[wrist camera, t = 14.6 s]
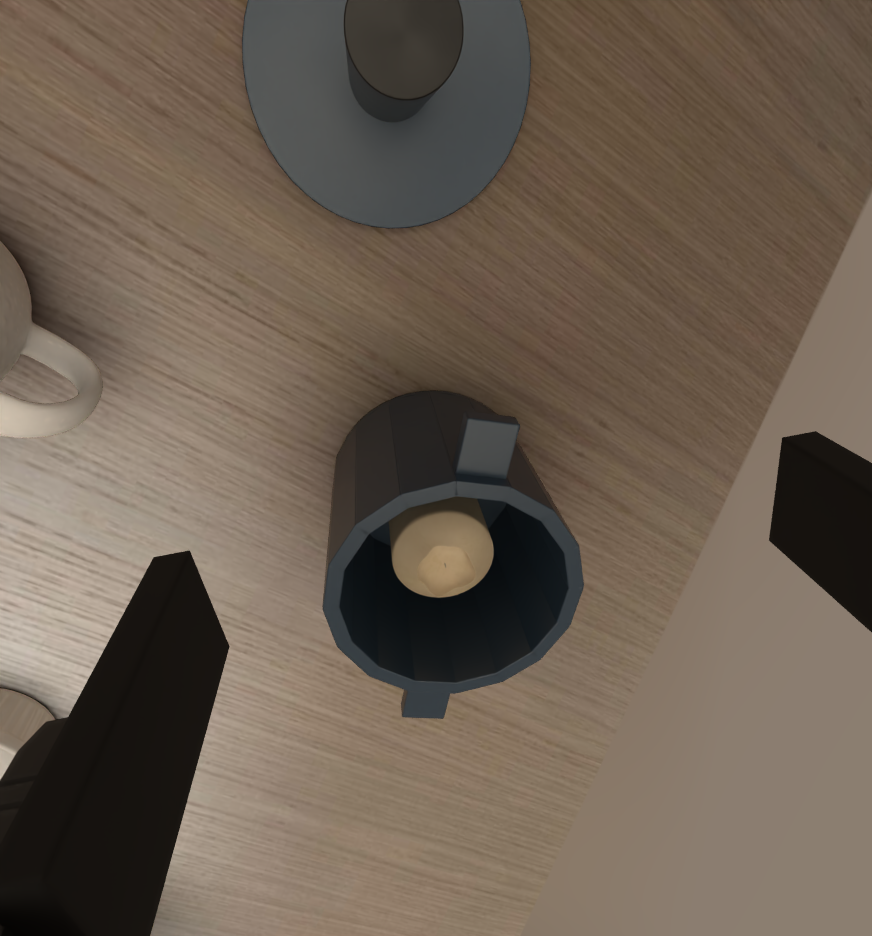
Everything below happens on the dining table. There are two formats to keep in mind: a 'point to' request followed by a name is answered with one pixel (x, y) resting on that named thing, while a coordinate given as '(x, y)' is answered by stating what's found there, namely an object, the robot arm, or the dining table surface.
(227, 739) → the dining table surface
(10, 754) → the ramekin
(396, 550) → the candle
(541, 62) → the dining table surface
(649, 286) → the dining table surface
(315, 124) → the lid
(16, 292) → the mug
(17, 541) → the dining table surface
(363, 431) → the pot
